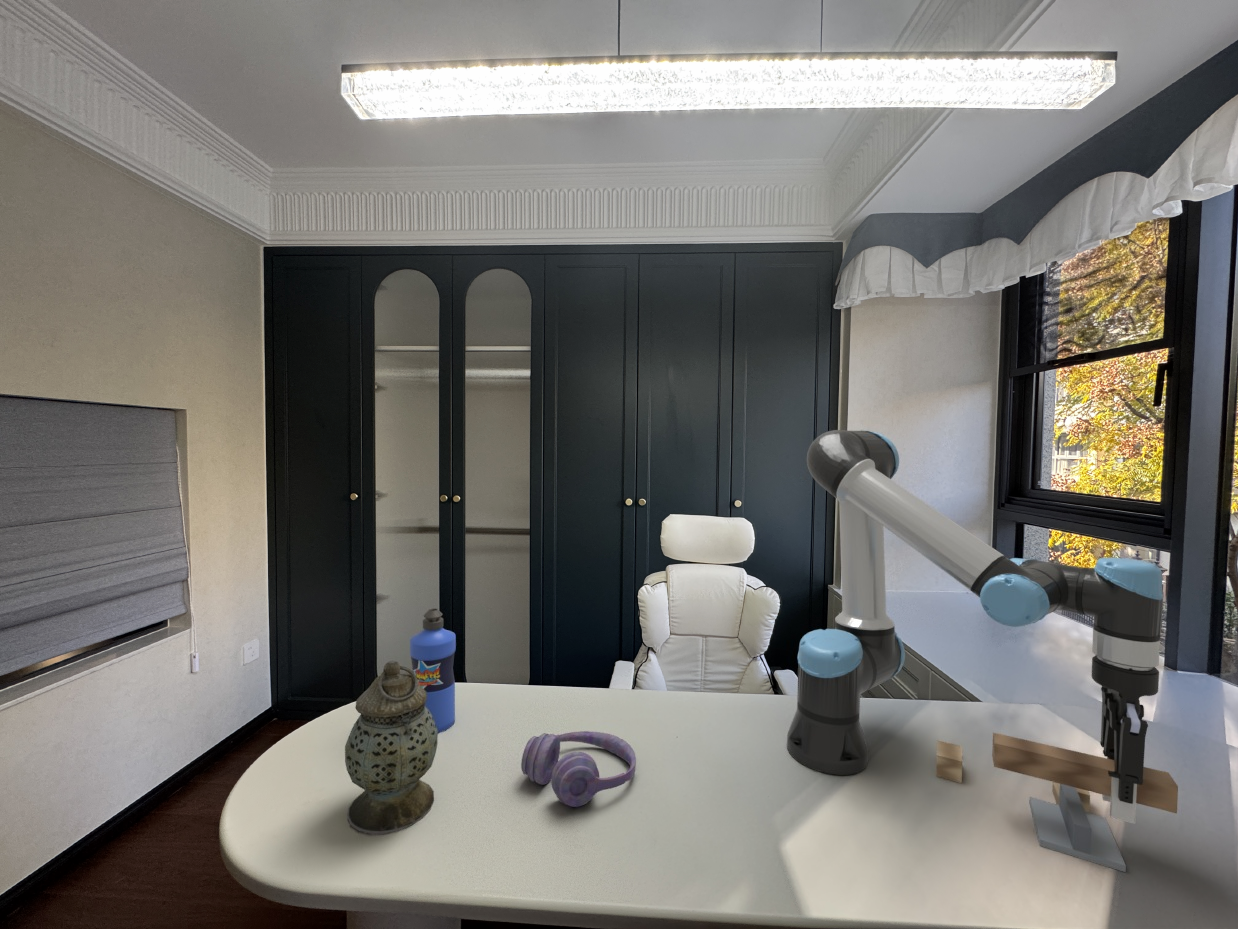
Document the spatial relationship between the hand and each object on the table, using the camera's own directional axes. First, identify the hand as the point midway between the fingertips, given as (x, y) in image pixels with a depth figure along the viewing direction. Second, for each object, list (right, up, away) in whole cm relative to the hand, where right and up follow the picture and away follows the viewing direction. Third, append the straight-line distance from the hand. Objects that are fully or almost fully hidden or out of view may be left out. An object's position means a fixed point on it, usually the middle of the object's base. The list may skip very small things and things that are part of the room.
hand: (1118, 810), depth 84 cm
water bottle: (-117, -3, +34) cm, 122 cm away
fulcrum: (-4, -6, +3) cm, 8 cm away
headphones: (-84, -4, +16) cm, 86 cm away
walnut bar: (-4, +3, +2) cm, 6 cm away
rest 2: (+1, -5, +10) cm, 12 cm away
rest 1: (-15, -5, +19) cm, 25 cm away
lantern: (-115, -4, +7) cm, 115 cm away
